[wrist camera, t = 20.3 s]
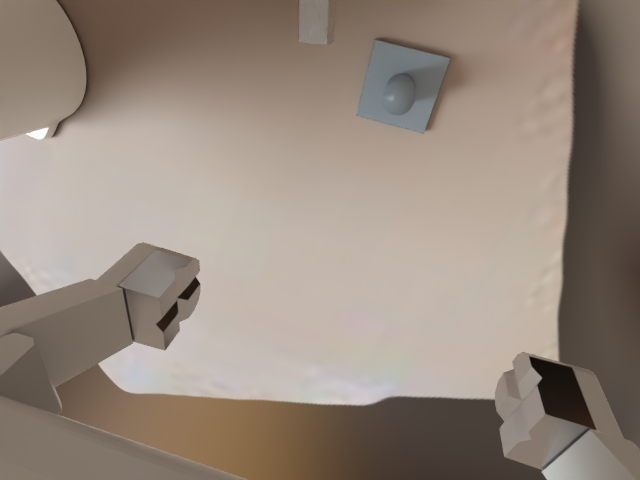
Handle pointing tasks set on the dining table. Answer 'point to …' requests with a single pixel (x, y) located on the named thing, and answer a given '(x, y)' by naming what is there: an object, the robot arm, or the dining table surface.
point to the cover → (401, 85)
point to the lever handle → (316, 21)
